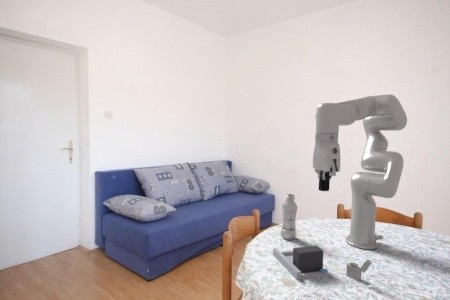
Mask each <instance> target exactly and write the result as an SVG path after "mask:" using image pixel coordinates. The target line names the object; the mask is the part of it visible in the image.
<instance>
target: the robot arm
mask: <svg viewBox="0 0 450 300" xmlns="http://www.w3.org/2000/svg"><path fill="white" fill-rule="evenodd" d="M361 120H362V125H363V129H364V132H365V133H364V134H365V137H366V143H365V146H364V151H363V154H362V157H361V160H360V167H361V168H362V169H363V170H364V171H357V172H354V173H353V174H352V175H351V178H350V188H351V211H350V212H351V213H350V227H349V229H350V231H349V236H346V238H345V242H346V244H348V245H350V246H352V247H355V248H358V249H364V250H375V249H378V248H379V243H378V242H377V241H378V240H383V239H384V236H383V235H382V234H376V233H375V232H376V231H375V230H376V220H377V219H376V216H377V203H376V201H375V199H374V197H379V198H385V199H392V198H394V197H395V196H396V194H397V192H398V188H399V185H400V180H401V177H402V173H403V169H404V157H403V155H402V154H401V153H400V152H397V151H392V150H388V147H389V141H388V139H387V138H386V136H385V135H384V134H383V133H382V132H381V131H394V132H395V131H402V130H403V129H405V127H406V126H407V123H408V117H407V113H406V112H405V109H404V107H403V105H402V103H401V102H400V100H399V99H398V97H396V96H395V95H394V94H380V95H369V96H363V97H360V98H356V99H350V100H345V101H341V102H336V103H335V102H323V103H319V104H318V105H317V106H316V112H315V138H314V139H315V141H314V148H313V156H312V168H313V169H314V172H315V173H316V174H317V179H318V191H321V192H330V181H331V179H332V177H335V176H337V173H339V172H340V171H341V148H340V143H339V134H340V133H339V130H340V126H351V125H352V124H354V123H355V122H356V121H361ZM373 196H374V197H373Z"/></svg>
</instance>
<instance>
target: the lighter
mask: <svg viewBox="0 0 450 300" xmlns="http://www.w3.org/2000/svg"><path fill="white" fill-rule="evenodd" d="M372 263H373V262H372V261H371V260H370V259H366V260H365V262H364V263H363V264H362V265H361V267H359V264H358V263H356V262H353V261H352V262H348V263H347V264H346V277H348V278H351V279H353V280H355V281H358V282H360V281H361V280H362V273H363V274H365V272H367V270H368V269H369V267H370V266H372Z"/></svg>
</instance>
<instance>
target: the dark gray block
mask: <svg viewBox="0 0 450 300" xmlns="http://www.w3.org/2000/svg"><path fill="white" fill-rule="evenodd" d="M292 248H293V249H292V250H293V264H294V265H295V266H296V267H297V268H298V269H299V270H300V271H301V273H309V272H316V271H320V269H324V250H323V248H320V247H319V246H318V245H309V246H308V245H307V246H302V247H299V246H298V247H292Z"/></svg>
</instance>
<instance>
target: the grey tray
mask: <svg viewBox="0 0 450 300" xmlns="http://www.w3.org/2000/svg"><path fill="white" fill-rule="evenodd" d="M272 256H273V257H274V258H275V259H276V260H278V262H279V263H280V264H281V265H282V266H283V267H284V268H285V269H286V270H287V272H288V273H289V274H290V275H291V276H292V277H293V278H294V279H295V280H296V281H299V280H309V279H316V278H325V277H330V275H329V274H328V273H329V272H328V271H329V270H328V269H327V268H323V269H320V271H316V272H309V273H301V271H300V270H299V269H298V268H297V267H296V266H295V265H294V264H293V249H292V250H282V251H281V250H279V248H277V247H275V248H274V247H273V248H272Z"/></svg>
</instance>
